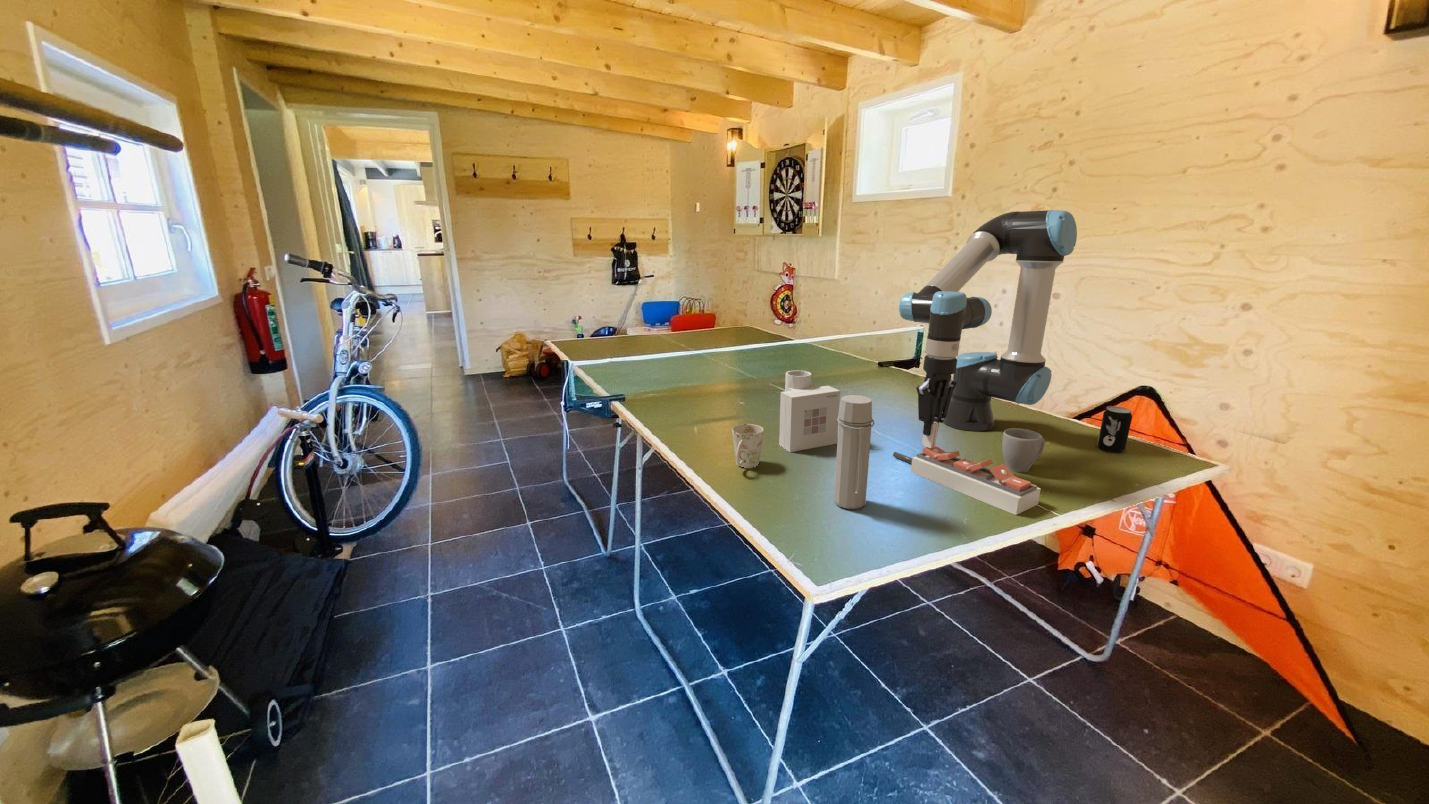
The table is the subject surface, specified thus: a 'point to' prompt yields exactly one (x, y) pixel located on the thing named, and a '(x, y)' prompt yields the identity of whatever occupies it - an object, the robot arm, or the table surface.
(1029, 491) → the power strip
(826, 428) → the white detergent container
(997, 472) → the rocker
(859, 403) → the water bottle
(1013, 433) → the mug
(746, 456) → the mug
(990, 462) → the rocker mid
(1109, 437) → the beverage can
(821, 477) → the table surface
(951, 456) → the rocker
